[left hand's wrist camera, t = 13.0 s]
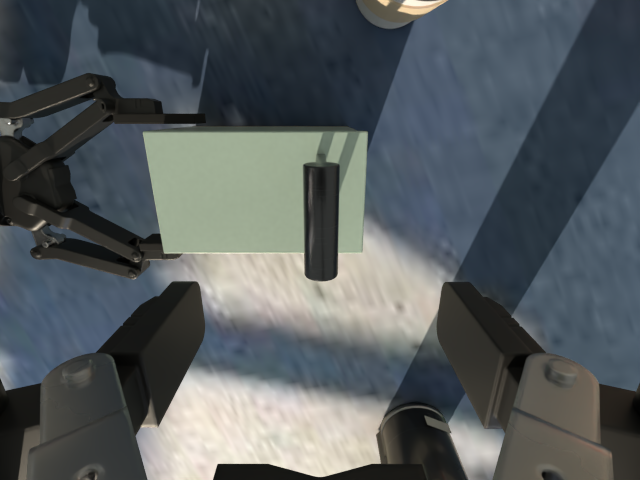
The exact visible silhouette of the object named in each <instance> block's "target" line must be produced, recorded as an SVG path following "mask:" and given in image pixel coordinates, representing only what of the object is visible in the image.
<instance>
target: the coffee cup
mask: <svg viewBox="0 0 640 480" xmlns="http://www.w3.org/2000/svg"><path fill="white" fill-rule="evenodd" d="M446 1H447V0H356V3H357V6H358V8H359V10H360V11H361V13H362V14H363V16H364V17H365V18H366V19H367V20H368V21H369V22H371V23H372V24H374V25H376V26H378V27H381V28H385V29H395V28H399V27H402V26H404V25H406V24H408V23H410V22H411V21H413V20H416V19H418V18H420V17H422V16H423V15H425V14H427V13H428V12H430V11H431V10H433V9H435V8H436V7H438V6H439V5H441V4H442V3H444V2H446Z"/></svg>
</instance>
